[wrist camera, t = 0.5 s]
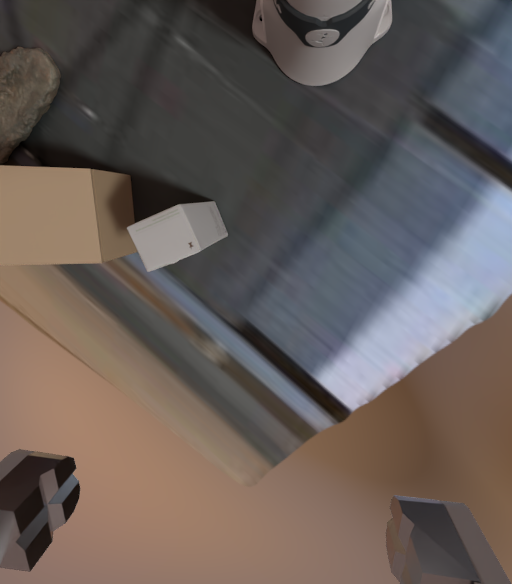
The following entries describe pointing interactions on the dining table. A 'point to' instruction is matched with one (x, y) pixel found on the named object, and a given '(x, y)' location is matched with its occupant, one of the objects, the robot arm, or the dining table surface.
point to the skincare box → (177, 233)
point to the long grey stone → (24, 94)
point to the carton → (114, 213)
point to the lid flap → (48, 216)
